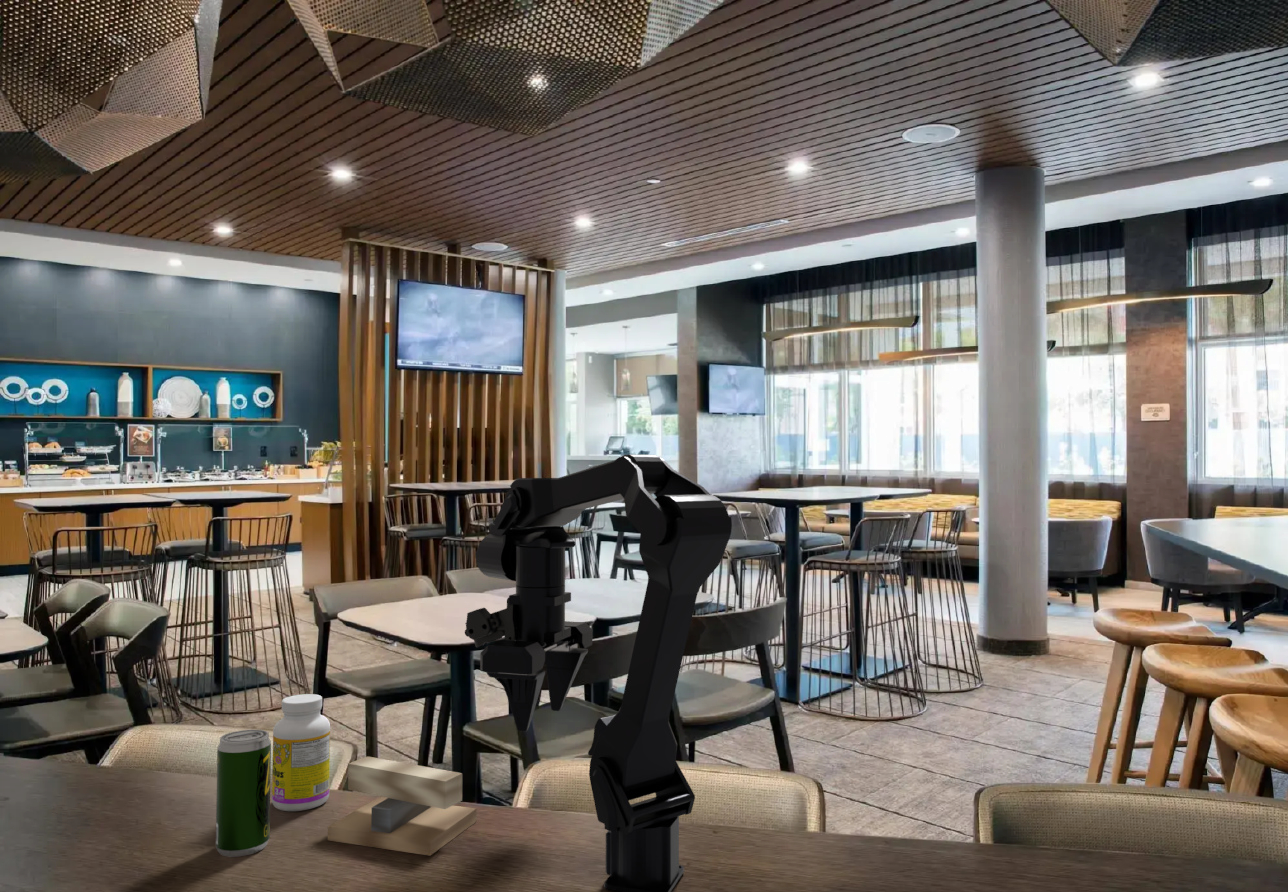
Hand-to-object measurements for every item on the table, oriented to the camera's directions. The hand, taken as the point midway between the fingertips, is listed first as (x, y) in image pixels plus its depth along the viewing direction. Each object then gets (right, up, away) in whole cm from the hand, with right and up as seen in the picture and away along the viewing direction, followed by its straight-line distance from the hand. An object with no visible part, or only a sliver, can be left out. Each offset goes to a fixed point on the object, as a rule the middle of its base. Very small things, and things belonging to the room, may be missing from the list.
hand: (540, 720), depth 104 cm
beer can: (-32, -12, -7) cm, 34 cm away
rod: (-15, -8, -2) cm, 17 cm away
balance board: (-15, -12, -2) cm, 19 cm away
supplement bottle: (-30, -12, +6) cm, 33 cm away
